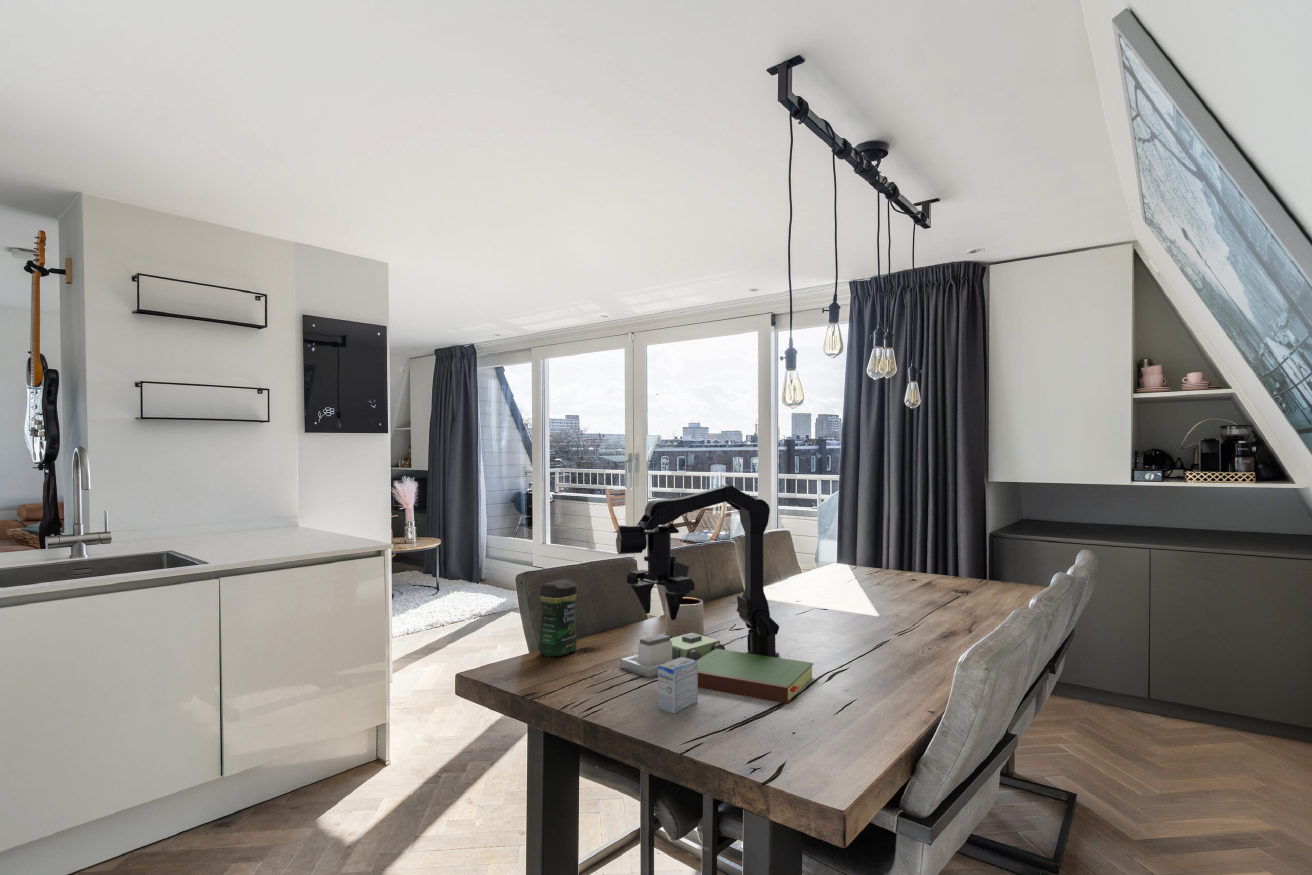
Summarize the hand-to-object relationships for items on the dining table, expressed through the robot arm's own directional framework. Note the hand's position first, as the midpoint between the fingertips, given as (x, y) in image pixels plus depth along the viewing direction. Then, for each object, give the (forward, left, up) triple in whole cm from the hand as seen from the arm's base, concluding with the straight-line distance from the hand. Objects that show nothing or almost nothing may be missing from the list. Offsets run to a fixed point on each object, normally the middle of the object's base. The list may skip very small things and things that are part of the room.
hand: (660, 616), depth 161 cm
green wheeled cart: (0, -10, -12) cm, 15 cm away
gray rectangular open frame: (0, +2, -12) cm, 12 cm away
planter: (+16, -24, -12) cm, 31 cm away
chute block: (0, +2, -12) cm, 12 cm away
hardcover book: (-22, -7, -13) cm, 26 cm away
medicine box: (-22, +15, -12) cm, 29 cm away
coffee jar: (+26, +12, -12) cm, 31 cm away
